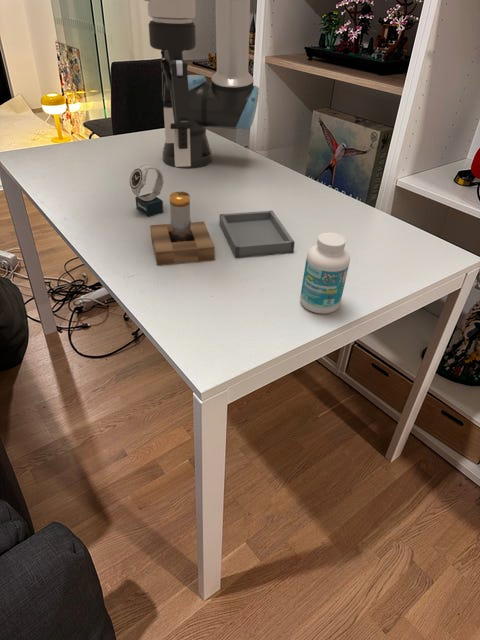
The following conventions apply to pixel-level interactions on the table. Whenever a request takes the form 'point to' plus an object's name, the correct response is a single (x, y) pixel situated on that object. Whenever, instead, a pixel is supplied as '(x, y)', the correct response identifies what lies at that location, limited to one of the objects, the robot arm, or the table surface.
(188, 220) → the pin
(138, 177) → the watch
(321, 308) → the pill bottle
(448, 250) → the table surface
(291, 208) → the table surface
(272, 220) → the tray
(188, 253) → the socket block
